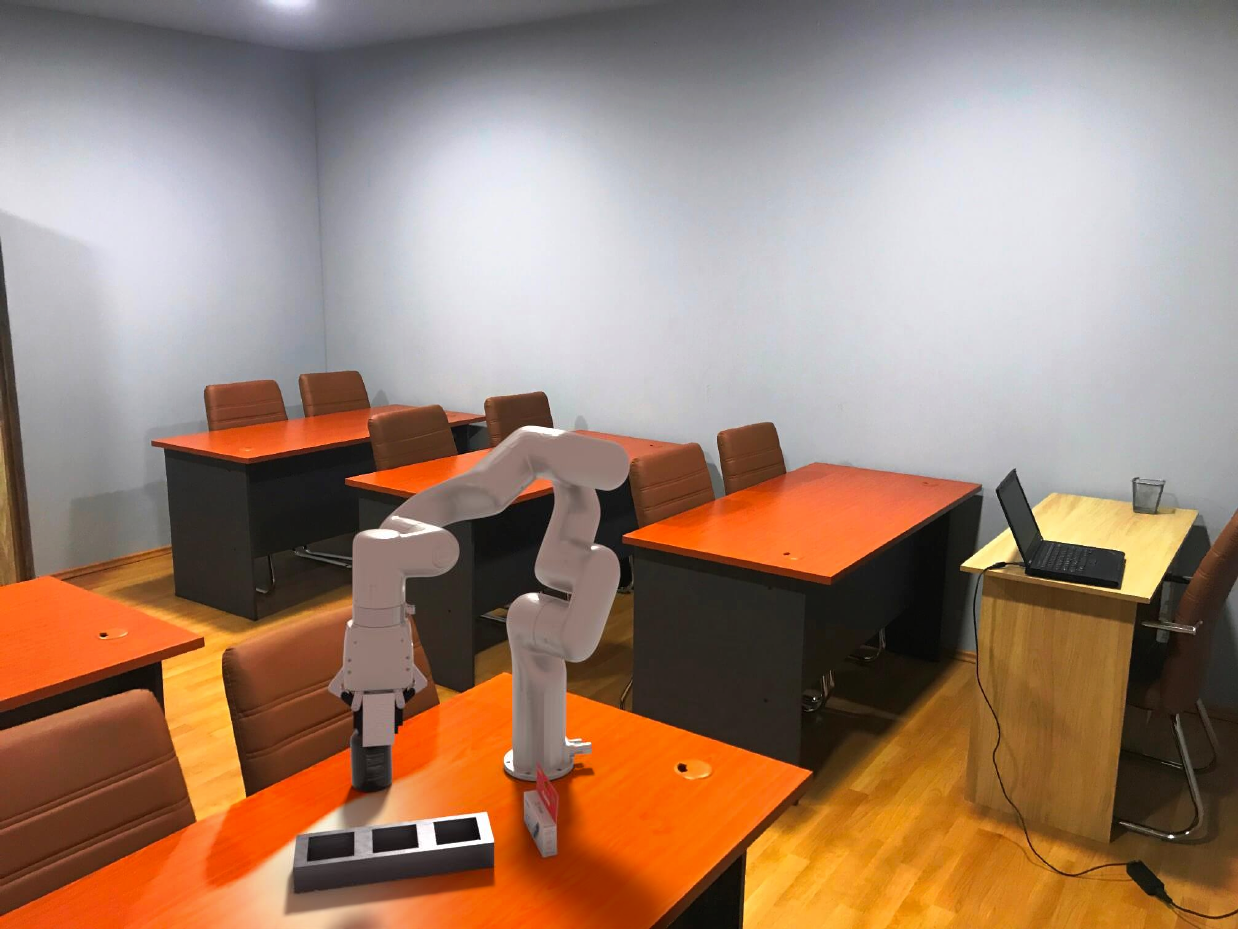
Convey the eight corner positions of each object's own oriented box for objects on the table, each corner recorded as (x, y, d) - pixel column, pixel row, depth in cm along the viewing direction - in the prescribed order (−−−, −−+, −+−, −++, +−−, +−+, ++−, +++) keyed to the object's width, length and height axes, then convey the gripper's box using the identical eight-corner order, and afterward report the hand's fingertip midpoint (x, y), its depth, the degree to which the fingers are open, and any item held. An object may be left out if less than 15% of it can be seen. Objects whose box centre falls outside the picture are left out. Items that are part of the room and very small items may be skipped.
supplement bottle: (398, 775, 167) (396, 710, 165) (384, 794, 160) (383, 727, 158) (360, 772, 168) (358, 708, 166) (345, 792, 161) (343, 725, 159)
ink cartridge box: (542, 859, 143) (543, 798, 141) (522, 821, 153) (523, 764, 152) (558, 855, 144) (559, 795, 142) (537, 818, 154) (538, 762, 152)
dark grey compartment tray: (486, 835, 149) (486, 812, 148) (494, 867, 141) (494, 842, 140) (297, 859, 141) (296, 834, 141) (293, 894, 133) (292, 867, 133)
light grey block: (393, 732, 146) (393, 682, 145) (394, 744, 142) (394, 693, 141) (362, 734, 145) (362, 683, 144) (362, 746, 141) (363, 695, 139)
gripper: (435, 604, 146) (433, 718, 149) (319, 608, 142) (320, 725, 145) (439, 619, 139) (437, 738, 142) (317, 624, 135) (317, 746, 137)
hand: (378, 730), depth 143 cm, fingers closed on light grey block, 4 cm apart
